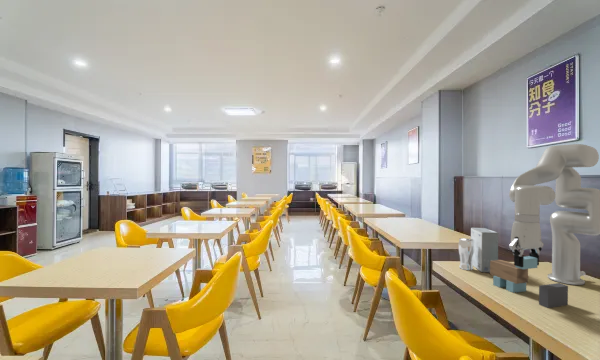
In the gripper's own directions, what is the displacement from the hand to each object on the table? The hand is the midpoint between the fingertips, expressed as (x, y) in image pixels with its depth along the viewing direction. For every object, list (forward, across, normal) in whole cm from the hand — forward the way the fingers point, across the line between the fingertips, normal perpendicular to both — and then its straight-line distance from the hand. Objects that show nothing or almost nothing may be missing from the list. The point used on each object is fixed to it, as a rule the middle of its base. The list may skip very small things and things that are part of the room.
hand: (526, 265), depth 112 cm
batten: (+1, 0, 0) cm, 1 cm away
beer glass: (+14, -10, -38) cm, 41 cm away
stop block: (+13, -6, +6) cm, 16 cm away
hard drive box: (+14, -19, -36) cm, 43 cm away
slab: (+10, -6, -12) cm, 16 cm away
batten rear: (+13, -6, -14) cm, 20 cm away
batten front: (+13, -6, -8) cm, 17 cm away
